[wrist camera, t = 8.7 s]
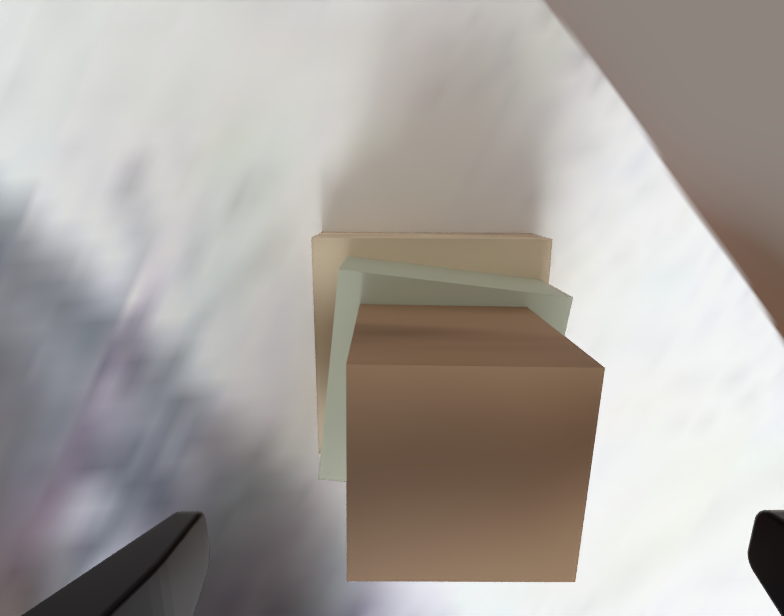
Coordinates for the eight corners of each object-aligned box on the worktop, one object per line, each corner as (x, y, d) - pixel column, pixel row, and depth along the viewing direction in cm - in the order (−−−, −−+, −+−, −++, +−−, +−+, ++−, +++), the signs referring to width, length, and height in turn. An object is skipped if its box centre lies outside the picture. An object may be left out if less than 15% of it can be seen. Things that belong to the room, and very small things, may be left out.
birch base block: (513, 418, 21) (532, 454, 18) (328, 417, 21) (318, 453, 18) (527, 232, 19) (552, 239, 16) (323, 230, 19) (311, 237, 16)
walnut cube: (513, 456, 15) (575, 581, 10) (359, 454, 15) (346, 581, 10) (527, 306, 14) (604, 367, 9) (359, 303, 14) (346, 364, 9)
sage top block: (505, 452, 18) (528, 500, 15) (329, 433, 18) (318, 479, 15) (540, 279, 17) (572, 297, 14) (347, 256, 16) (338, 269, 13)
